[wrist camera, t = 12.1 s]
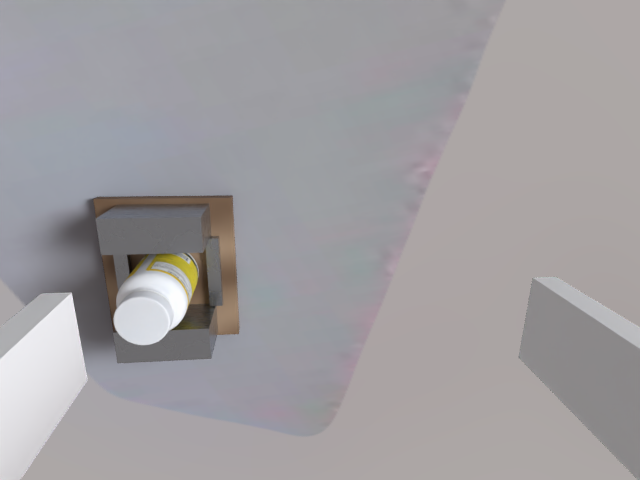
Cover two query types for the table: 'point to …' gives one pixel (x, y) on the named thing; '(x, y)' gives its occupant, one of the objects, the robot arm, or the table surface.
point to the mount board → (219, 227)
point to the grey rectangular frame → (165, 238)
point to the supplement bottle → (155, 297)
